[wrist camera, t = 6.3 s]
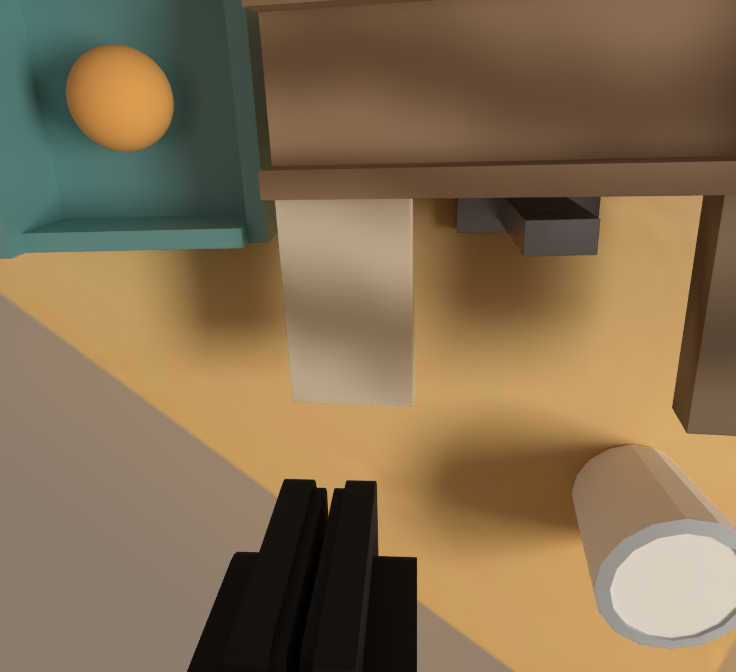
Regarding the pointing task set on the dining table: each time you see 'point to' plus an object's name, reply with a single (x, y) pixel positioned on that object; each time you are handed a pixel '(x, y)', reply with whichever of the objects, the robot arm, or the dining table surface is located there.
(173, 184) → the teal tray
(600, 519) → the white cup
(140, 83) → the orange ball
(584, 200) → the lever stand
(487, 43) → the walnut lever
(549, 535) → the dining table surface
